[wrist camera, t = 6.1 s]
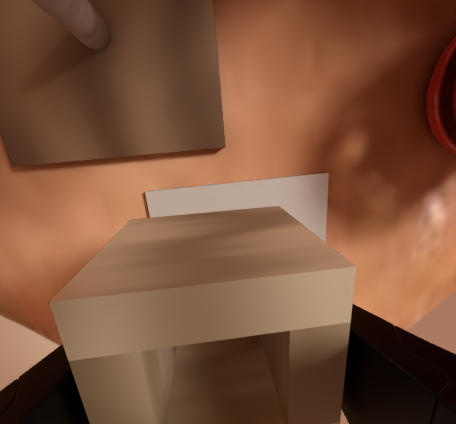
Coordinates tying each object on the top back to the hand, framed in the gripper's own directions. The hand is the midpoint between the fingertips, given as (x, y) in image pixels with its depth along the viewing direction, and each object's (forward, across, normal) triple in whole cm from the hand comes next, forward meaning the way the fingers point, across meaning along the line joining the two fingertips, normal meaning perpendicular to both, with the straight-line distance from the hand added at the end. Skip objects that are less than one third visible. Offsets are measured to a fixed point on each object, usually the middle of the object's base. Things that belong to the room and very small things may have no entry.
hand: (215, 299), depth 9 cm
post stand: (+12, +6, -13) cm, 19 cm away
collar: (+2, 0, 0) cm, 2 cm away
